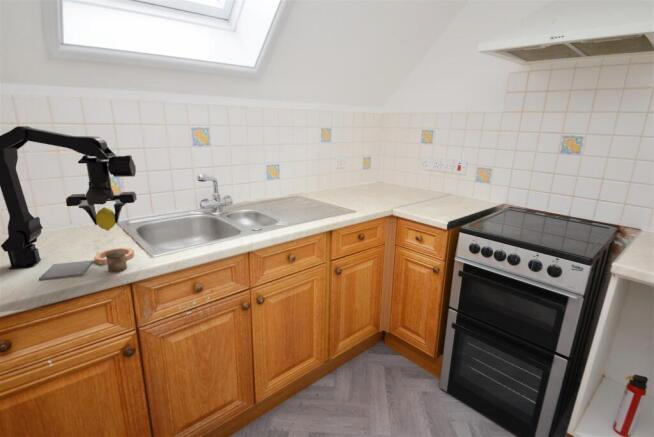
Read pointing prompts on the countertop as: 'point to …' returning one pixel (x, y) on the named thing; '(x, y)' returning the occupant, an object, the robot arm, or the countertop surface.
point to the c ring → (99, 256)
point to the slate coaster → (66, 270)
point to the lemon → (105, 218)
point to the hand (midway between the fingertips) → (106, 224)
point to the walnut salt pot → (116, 260)
